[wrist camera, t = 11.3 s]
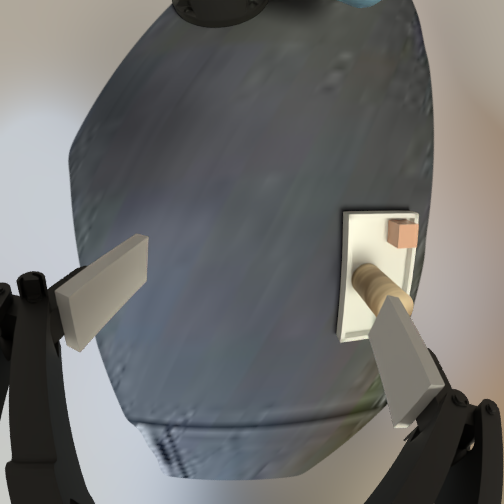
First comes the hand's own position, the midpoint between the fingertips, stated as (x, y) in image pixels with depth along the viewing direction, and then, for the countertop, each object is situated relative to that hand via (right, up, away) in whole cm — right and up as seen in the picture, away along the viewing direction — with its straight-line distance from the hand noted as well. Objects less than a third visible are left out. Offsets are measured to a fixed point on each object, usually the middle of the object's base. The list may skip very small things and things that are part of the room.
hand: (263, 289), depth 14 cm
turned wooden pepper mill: (+17, -2, +27) cm, 32 cm away
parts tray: (+19, -2, +28) cm, 34 cm away
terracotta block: (+22, +5, +25) cm, 33 cm away
